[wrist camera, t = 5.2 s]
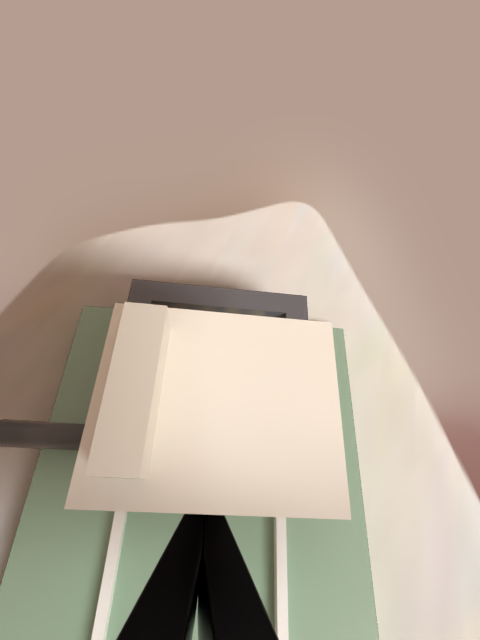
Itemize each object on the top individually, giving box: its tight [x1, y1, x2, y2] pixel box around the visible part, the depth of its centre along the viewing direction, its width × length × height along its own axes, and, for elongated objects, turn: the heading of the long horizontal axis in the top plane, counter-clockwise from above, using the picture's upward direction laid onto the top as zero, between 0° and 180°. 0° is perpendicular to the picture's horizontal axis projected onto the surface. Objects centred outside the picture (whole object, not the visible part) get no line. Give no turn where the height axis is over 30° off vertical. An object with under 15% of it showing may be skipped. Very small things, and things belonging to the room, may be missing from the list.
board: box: [0, 306, 379, 640], centre depth 13 cm, size 22×14×2 cm, turn 178°
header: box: [127, 279, 308, 320], centre depth 15 cm, size 6×8×3 cm
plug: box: [0, 302, 351, 520], centre depth 10 cm, size 4×11×10 cm, turn 87°
